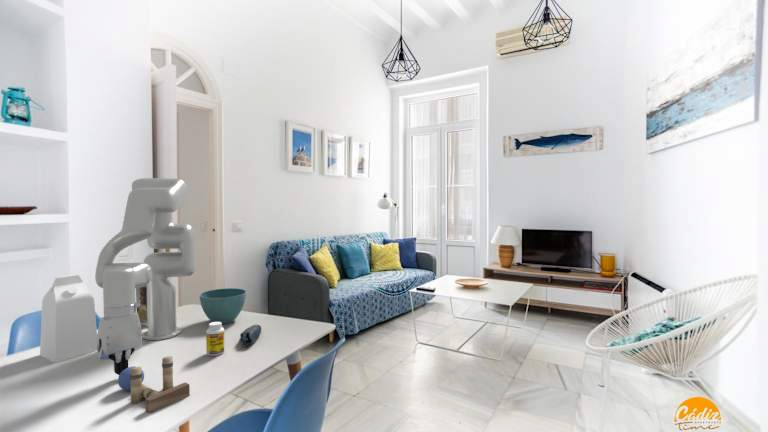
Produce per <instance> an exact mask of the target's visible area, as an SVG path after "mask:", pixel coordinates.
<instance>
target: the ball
mask: <svg viewBox="0 0 768 432" xmlns="http://www.w3.org/2000/svg"><path fill="white" fill-rule="evenodd" d="M134 367H135V366H128V368H126V369H125V370H123V371H122V372H121V373H120V375H118V377H117V378H118V379H117V385H118V386H119V388H121V389H122V390H123V391H131V381H130V369H132V368H134ZM141 371H142V383H143V381H144V379H145V373H144V372H145V371H143V369H142V368H141Z"/></svg>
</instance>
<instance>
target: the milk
mask: <svg viewBox="0 0 768 432" xmlns="http://www.w3.org/2000/svg"><path fill="white" fill-rule="evenodd" d="M41 301H42V302H41V317H40V318H41V322H40V323H41V324H40V342H39V343H40V345H39V356H41V357H43V358H45V359H46V360H49V361H51V362H53V363H58V362H63V361H65V360H69V359H73V358H76V357H79V356H83V355H86V354H89V353H92V352H96V351H97V335H98V328H97V320H96V318H97V317H96V305H95V298H94V295H93V293H92V291H91V290H90V289H89V288H88V287H87V285H86V283H85V282H84V281H83V279H82V278H81V276H80V274H71V275H64V276H63V275H62V276H57V277H55V279H54V281H53V282H52V285H51V287H50V288H49V289H48V291H46V293H45V295H44V296H43V298H42V300H41ZM97 352H98V351H97Z"/></svg>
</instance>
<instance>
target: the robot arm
mask: <svg viewBox="0 0 768 432" xmlns="http://www.w3.org/2000/svg"><path fill="white" fill-rule="evenodd" d="M187 193H188V188H187V183H186V182H185V181H184V180H182V179H180V178H160V177H156V178H155V177H144V178H137V179H135V180H133V181H132V183H131V190H130V192H129V193H128V196H127V201H126V206H125V211H124V216H123V221H122V227H121V229H120V231H119V232H118V233H116V234H115V235H114V236H112V238H111V239H110V240H108V241H107V243H106V244H105V245H104V246H103V247H102V248H101V251H100V253H99V256H98V259H97V264H96V268H95V276H94V277H95V282H96V283H95V284H97V286H98V287H100V288H101V289H102V294H103V295H102V296H103V297H102V299H103V302H102V303H103V316H102V317H100V319H99V321H98V322H99V323H98V328H97V352H99V353H98V359H99V360H101V361H103V360H111V361H113V369H114V370H113V371H114V374H116V375H117V376H119V375H120V373H121V372H122V371H123V370H125V369H126V368H128V367H129V360H130V359H131V356H132V355H133V354H134V352H135V351H138V350H140V349H142V346H143V345H142V342H143V339H145V340H147V341H161V340H165V339H166V340H167V339H170V338H173V337H174V338H175V337H176V336H179V335H180V334H181V332H182V329H181V328H180V327H178V326H177V290H176V285H175V283H174V282H173V281H172V280H171V279H170V278H179V277H180V278H182V277H190V276H193V275H194V274H195V271H196V267H197V259H196V258H197V255H196V235H195V231H194V230H195V229H194V228H193V227H192V225H191V224H188V223H174V222H173V213H175V212H176V211H177V210H178V209H179V208H180V206H181V205H182V204H183V202H184V201H185V199H186V196H187ZM144 240H147V243H148V246H149V248H151V249H157V250H171V249H172V250H173V249H178V250H180V251H158V252H152V253H149V254H148V255H146V256H145V258H144V259H143V262H115V263H114V261H115V259H116V257H117V256H118V254H119V253H120V252H121V251H123V250H124V249H126V248H128V247H130V246H132V245H134V244H137V243H140V242H142V241H144ZM145 285H147V317H148V323H147V324H146V325H145V327H147V330H146V331H145V332H144V333H143V331H142V325H141V323H140V319H139V315H138V313H137V308H138V307H140V303H136V288H139V287H143V286H145ZM142 333H143V334H142Z"/></svg>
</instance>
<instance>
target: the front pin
mask: <svg viewBox="0 0 768 432" xmlns="http://www.w3.org/2000/svg"><path fill="white" fill-rule="evenodd" d="M158 393H160V392H159V391H157V390H156V389H153V388H151V387H148V386H147V385H146V384H145V385H144V384H143V383H142V398H144V399H146V398H148V397H151V396H153V395H156V394H158Z"/></svg>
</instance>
